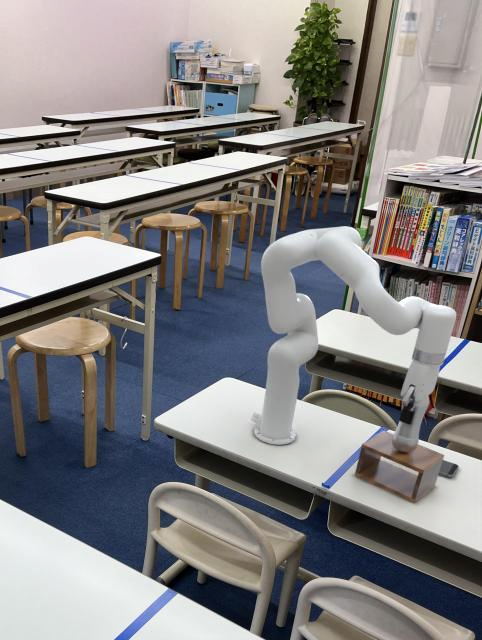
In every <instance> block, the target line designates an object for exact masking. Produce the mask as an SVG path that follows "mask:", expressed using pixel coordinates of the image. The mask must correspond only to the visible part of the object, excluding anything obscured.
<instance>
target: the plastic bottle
mask: <svg viewBox="0 0 482 640" xmlns="http://www.w3.org/2000/svg"><path fill="white" fill-rule="evenodd" d="M403 398H404V397H402V399H403ZM411 398H413V399H415V397H414V396H412V397H411ZM413 402H414V401H411V400H410V402H409V403H411V405H412V404H413ZM429 405H430V397H429V398H428V395H426V396H425V397H424V398H423V399H421V400H420V401H417V404H416V406H415V408H414V411H415V413H414V417H413V420H412V424H410V425H408V424H406V423H403V422H401V421H399V420H398V421H399V422H398V424H397V426H396V429H395V431H394V433H393V434H394V435H393V437H392V445H393V447H394V448H395V449H397V450H399V451H402V452H412V451H413V450H415V449H416V447H417V445H418V444H419V439H420V430H421V425H422V421H423V420H424V417H425V414H426V412H427V410H428V408H429ZM402 406H403V403H402V402H401V407H402Z"/></svg>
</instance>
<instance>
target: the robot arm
mask: <svg viewBox="0 0 482 640" xmlns="http://www.w3.org/2000/svg"><path fill="white" fill-rule="evenodd" d="M317 261H320V262H322V264H324V265H325V266H326V267H327V268H328V269H329V270H330V271H332V273H334V274H335V275H336V276H337V277H338V278H339V279H341V280H342V282H344V283H345V284H346V285H347V286H348V287H350V289H352V291H353V292H354V294H355V297H356V299H357V301H358V302H359V304H360V307H361V308H362V310H363V311H364V313H365V314H366V315H367V317H369V318H370V319H371V320H372V321H373V322H374V323H375V324H376V325H378V326H379V327H380V328H381V329H383V330H384V331H385V332H387V333H389V334H390V335H394V336H403V335H405V334H407V333H409V332H410V331H412V330H413V329H418V333H417V336H416V340H415V344H414V347H413V348H414V349H413V352H412V354H411V355H412V356H411V360H412V361H411V363H410V365H409V367H408V370H407V372H406V375H405V378H404V381H403V384H402V388H401V391H400V396H401V397H402V399H401V404H402V403H403V406H402V405H401V412H400V415H399V420H398V421H401V422H403V423H406V424H408V425H410V424H412V420H413V417H414V413H415V411H414V408H415V406H416V404H417V401H420V400H421V399H423V398H424V397H425V396H426V395H428V398H429V399H430V395H431V394H432V393H433V392H434V391H435V388H436V385H437V381H438V379H439V373H440V370H441V369H440V368H441V366H443V365H444V361H445V358H446V354H447V351H448V347H449V344H450V341H451V337H452V334H453V330H454V326H455V324H456V321H457V312H456V310H455V309H454V308H452V307H449V306H447V305H442V304H441V305H440V304H435V303H432V302H430V301H428V300H425V299H423V298H420V297H417V296H408V297H405V298H404V299H402V300H400V301H397V300H396V299H395V298H394V297H393V296H391V294H389V293H388V291H387V290H386V289H385V288H384V286H383V284H382V282H381V278H380V265H379V263H378V262H377V261H376V260H374V259H373V258H372V257H371V256H370V255H368V254H367V253H366V252H365V251H364V250H363V249H362V237H361V234H360V233H359V231H357V230H356V229H355V228H354V227H352V226H346V225H345V226H342V225H341V226H335V227H324V228H312V229H305V230H302V231H298V232H296V233H291V234H288V235H285V236H283V237H281V238H278V239H277V240H275V241H274V242H272V243H271V244H270V245H269V246H268V247H267V248H266V249H265V251H264V252H263V254H262V257H261V261H260V271H261V278H262V280H263V281H262V283H263V287H264V297H265V298H264V299H265V306H266V307H265V308H266V314H267V315H266V316H267V322H268V325H269V328H270V330H271V331H272V332H273V333H275V334H278V335H284V334H287V335H285V336H283V337H281V338H279V339H278V340H276V341H275V342H274V343H273V344H272V345H271V346H270V348H269V350H268V352H267V374H266V375H267V376H266V382H265V391H264V398H263V404H262V412H261V413H258V412H256V411H255V412H253V414H252V417H251V418H250V421H251V422H253V423H256V426H255V427H254V431H253V434H254V436H255V437H256V438H257V439H258V440H259V441H261V442H264V443H267V444H270V445H276V446H277V445H278V446H279V445H281V446H282V445H288V444H291V443H293V442H294V441H295V439H296V436H297V435H296V431H295V430H294V429H293V424H294V418H295V411H296V406H297V400H298V396H299V395H298V394H299V388H300V371H299V370H300V367H301V366H303V365H304V364H305V363H307V362H309V361H310V360H312V359H313V358H314V357H315V356H316V354H317V353H318V349H319V335H318V324H317V316H316V309H315V306H314V303H313V301H312V300H311V299H310V297H309V296H307V295H306V294H304V293H301V292H297V289H296V281H295V278H294V276H293V273H292V272H291V270H292V269H294V268H296V267H298V266H301V265H304V264H307V263H310V262H317ZM412 396H414V397H415V399H413V398H411V397H412ZM403 397H404V398H403ZM410 400H411V401H414V402H413V404H412V405H411V403H409V402H410Z"/></svg>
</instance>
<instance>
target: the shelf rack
mask: <svg viewBox="0 0 482 640" xmlns="http://www.w3.org/2000/svg"><path fill="white" fill-rule="evenodd" d="M393 435H394V433H391V432H389V431H387V430H382V431H380V432H379V433H377V434H375V435H374V436H373V437H371V438H369V439H368V440H366V441H365V442H362V444H361V447H360V451H359V456H358V460H357V463H356V468H355V473H354V477H356V478H359V479H361V480H362V481H364V482H367V483H369V484H371V485H373V486H376V487H377V488H381V489H382V490H384V491H387V492H388V493H391V494H393V495H396V496H397V497H400V498H402V499H404V500H405V501H408V502H410V503H413V504H415V503H417V502H418V501H419V500H420V499H421V498H422V497H424V496H425V495H427V493H429V492H430V491H431V490H432V489H434V488H435V487H436V483H437V480H438V477H439V471H440V467H441V464H442V461H443V460H444V457H445V454H444V453H441V452H438V451H436V450H433V449H430V448H428V447H426V446H423V445H421V444H419V443H418V445H417V447H416V449H415V450H413V451H412V452H402V451H399V450H397V449H395V448H394V447H393V445H392V437H393ZM382 458H384V459H387V460H388V461H391V462H394V463H395V464H398V465H401V466H403V467H405V468H408V469H410V470H412V471H415V472H417V473H418V474H414V473H413V472H410V471H409V470H407V469H403V468H402V467H398V466H396V465H394V464H392V463H390V462H387V461H385V460H383V459H382Z"/></svg>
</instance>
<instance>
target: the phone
mask: <svg viewBox="0 0 482 640" xmlns="http://www.w3.org/2000/svg"><path fill="white" fill-rule="evenodd" d="M458 470H459V464H457V463H455V462H451V461H448V460H445V459H443V461H442V464H441V467H440V471H439V474H438V476H439V475H440V476H442V477H445V478H450V479H451V478H454V476H455V475H456V473H457V471H458Z"/></svg>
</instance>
